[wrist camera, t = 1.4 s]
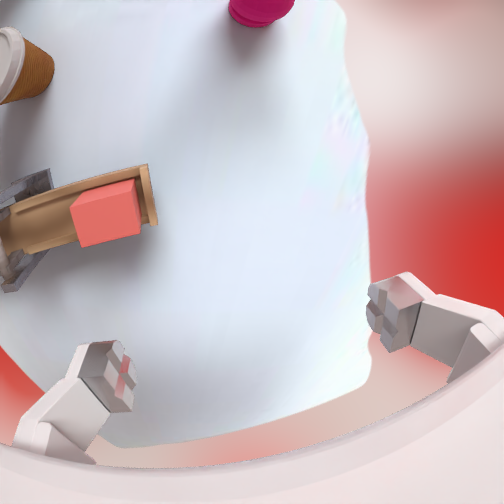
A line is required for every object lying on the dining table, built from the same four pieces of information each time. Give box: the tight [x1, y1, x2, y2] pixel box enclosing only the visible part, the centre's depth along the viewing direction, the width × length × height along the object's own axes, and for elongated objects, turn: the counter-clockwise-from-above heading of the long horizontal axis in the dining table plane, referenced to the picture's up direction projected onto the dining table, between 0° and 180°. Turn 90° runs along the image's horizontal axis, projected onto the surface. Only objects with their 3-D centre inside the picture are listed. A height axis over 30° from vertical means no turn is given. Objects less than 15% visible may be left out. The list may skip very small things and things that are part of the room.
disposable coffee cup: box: [0, 27, 54, 105], centre depth 16 cm, size 10×10×12 cm
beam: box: [0, 164, 158, 280], centre depth 24 cm, size 7×34×9 cm, turn 95°
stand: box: [0, 168, 54, 293], centre depth 24 cm, size 11×7×12 cm, turn 5°
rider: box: [69, 178, 142, 248], centre depth 24 cm, size 4×6×6 cm, turn 95°
